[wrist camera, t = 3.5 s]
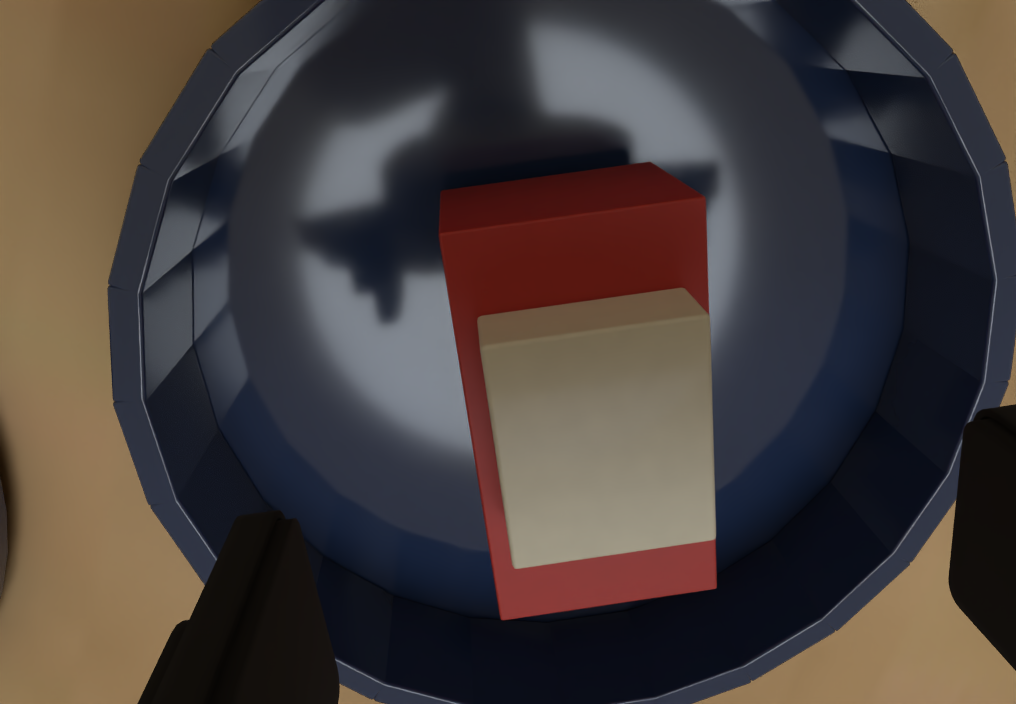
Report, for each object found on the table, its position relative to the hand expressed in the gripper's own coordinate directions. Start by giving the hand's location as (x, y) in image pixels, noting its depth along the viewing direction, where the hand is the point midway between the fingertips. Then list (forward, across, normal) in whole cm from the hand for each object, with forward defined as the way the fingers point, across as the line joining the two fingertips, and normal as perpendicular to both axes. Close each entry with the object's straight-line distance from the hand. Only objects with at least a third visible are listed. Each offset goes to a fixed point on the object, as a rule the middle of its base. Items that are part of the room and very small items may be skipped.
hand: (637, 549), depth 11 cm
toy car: (+8, 0, 0) cm, 8 cm away
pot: (+8, 0, 0) cm, 8 cm away
